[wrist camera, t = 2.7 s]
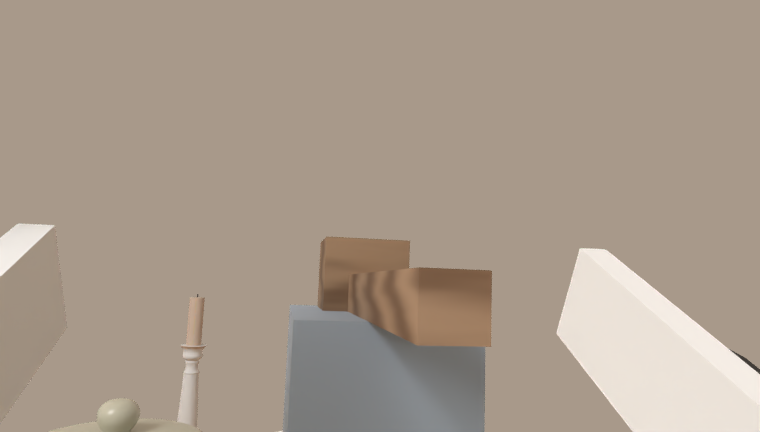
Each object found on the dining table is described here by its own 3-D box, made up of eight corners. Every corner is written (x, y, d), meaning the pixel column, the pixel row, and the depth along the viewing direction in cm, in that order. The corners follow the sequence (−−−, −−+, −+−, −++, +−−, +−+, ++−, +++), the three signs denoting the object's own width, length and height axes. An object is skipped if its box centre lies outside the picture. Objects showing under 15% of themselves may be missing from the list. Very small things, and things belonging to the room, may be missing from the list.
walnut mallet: (538, 347, 21) (537, 200, 22) (366, 344, 20) (372, 189, 21) (391, 308, 51) (393, 246, 51) (317, 306, 49) (320, 242, 50)
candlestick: (105, 530, 67) (128, 292, 71) (168, 493, 80) (185, 292, 83) (193, 546, 64) (212, 296, 68) (245, 505, 76) (259, 295, 80)
